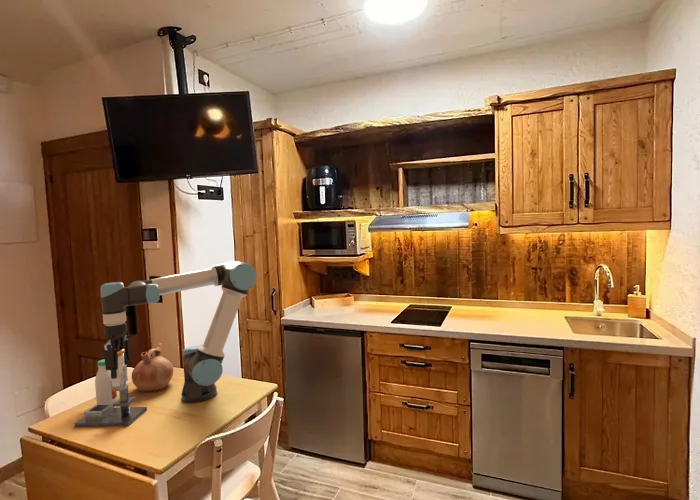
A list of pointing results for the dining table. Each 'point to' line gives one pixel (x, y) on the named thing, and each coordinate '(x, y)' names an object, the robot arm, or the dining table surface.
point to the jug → (152, 371)
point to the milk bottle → (104, 385)
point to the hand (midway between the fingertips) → (120, 383)
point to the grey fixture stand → (112, 413)
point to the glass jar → (121, 370)
